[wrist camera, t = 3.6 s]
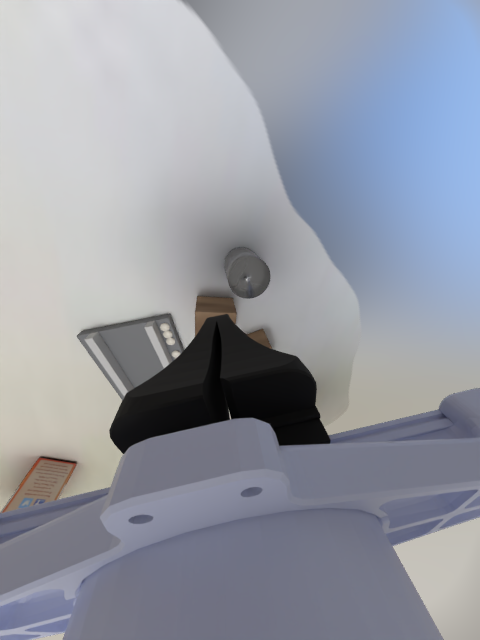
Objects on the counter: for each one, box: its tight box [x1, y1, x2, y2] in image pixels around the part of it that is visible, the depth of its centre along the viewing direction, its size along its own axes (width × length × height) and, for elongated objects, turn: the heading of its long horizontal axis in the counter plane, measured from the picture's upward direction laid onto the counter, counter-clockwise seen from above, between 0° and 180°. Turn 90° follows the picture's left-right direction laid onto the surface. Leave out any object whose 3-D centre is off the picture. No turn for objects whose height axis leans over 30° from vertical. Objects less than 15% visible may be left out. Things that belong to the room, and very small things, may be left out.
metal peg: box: [224, 247, 270, 298], centre depth 18 cm, size 4×4×5 cm
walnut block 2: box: [247, 329, 272, 349], centre depth 24 cm, size 4×4×4 cm
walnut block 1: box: [195, 296, 237, 336], centre depth 21 cm, size 4×4×4 cm
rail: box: [77, 314, 184, 400], centre depth 25 cm, size 16×10×2 cm, turn 8°
